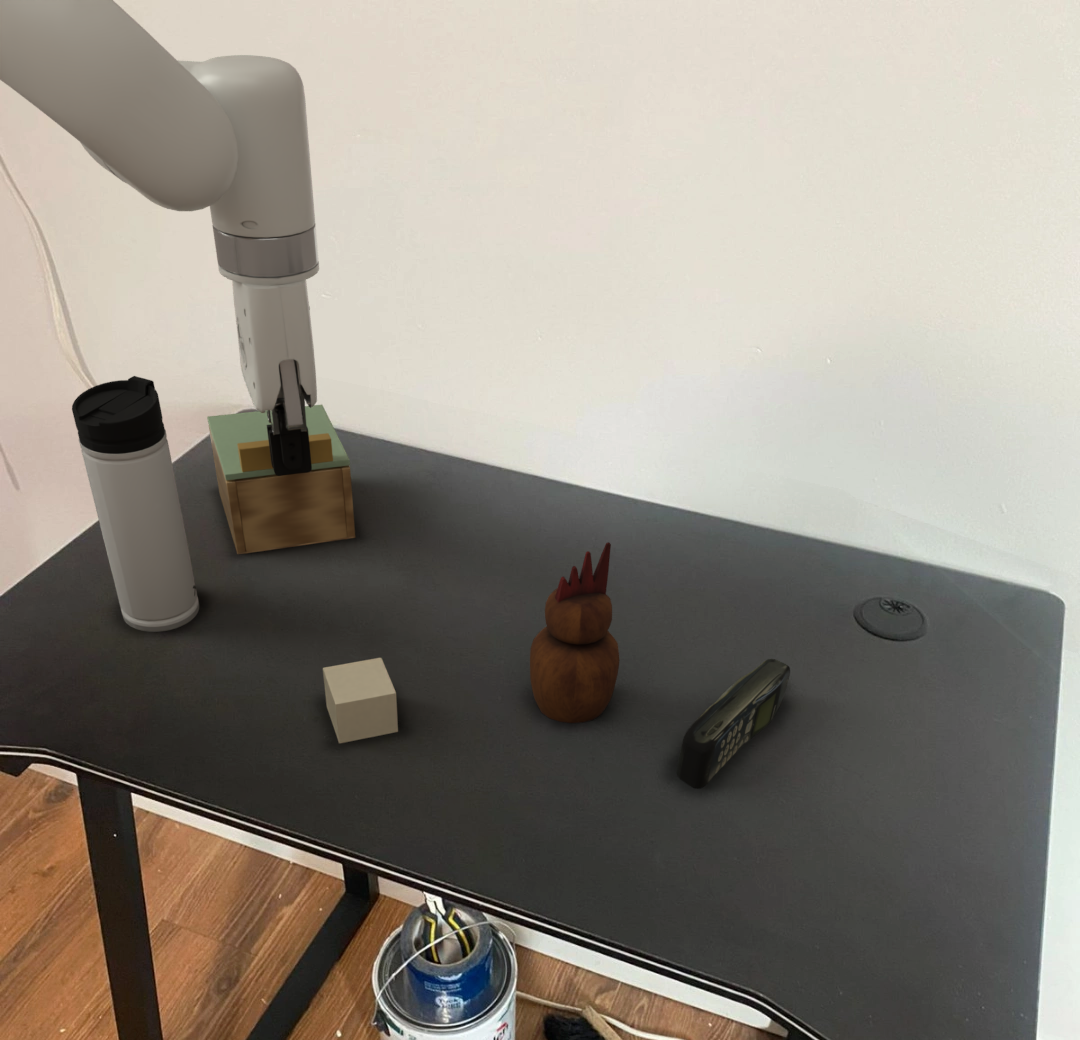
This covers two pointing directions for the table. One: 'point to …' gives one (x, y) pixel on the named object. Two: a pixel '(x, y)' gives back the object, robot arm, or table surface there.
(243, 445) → the slide door
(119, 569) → the travel mug
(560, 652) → the wooden figurine
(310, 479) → the oak box
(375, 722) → the cream block
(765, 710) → the mobile phone
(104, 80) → the robot arm
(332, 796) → the table surface
